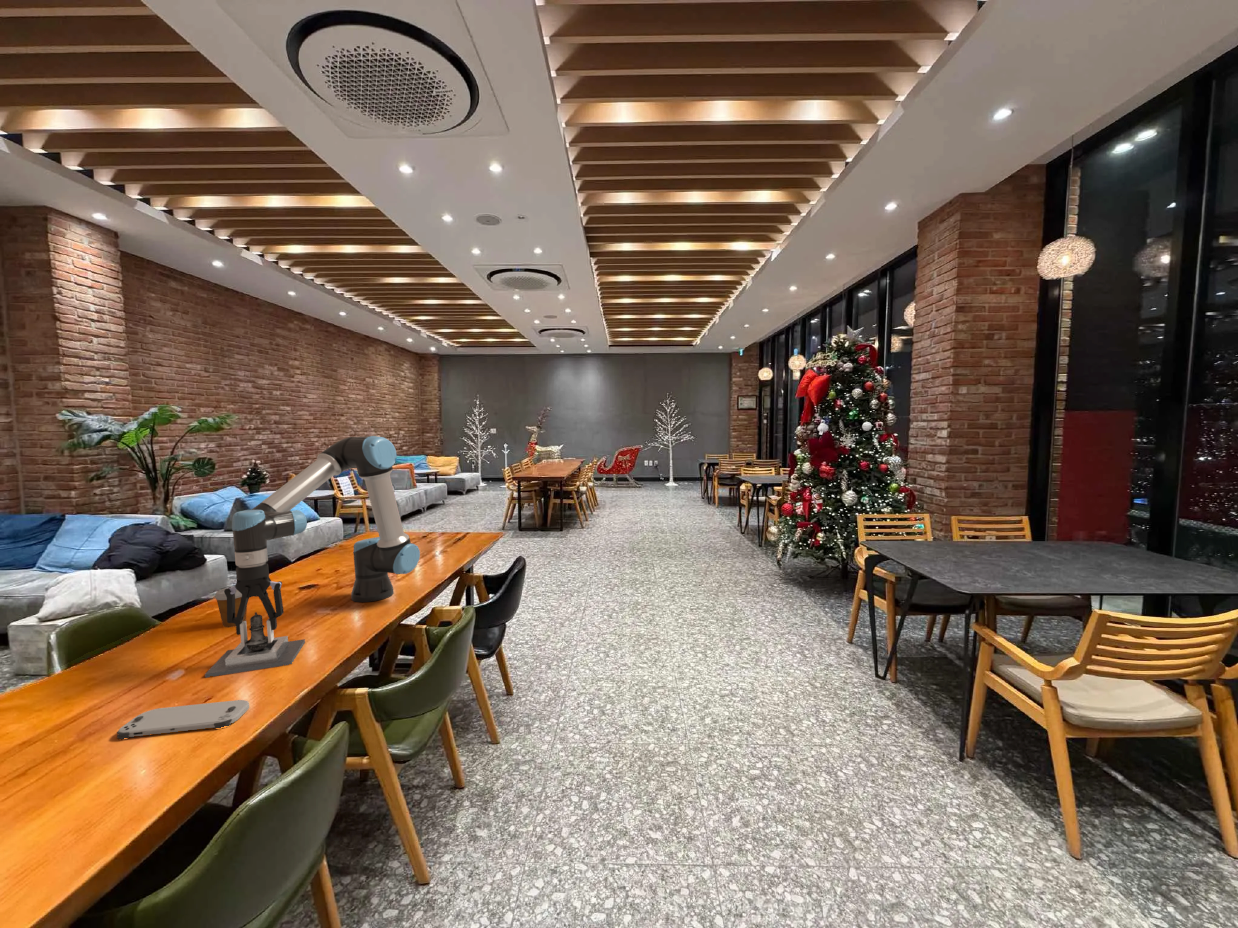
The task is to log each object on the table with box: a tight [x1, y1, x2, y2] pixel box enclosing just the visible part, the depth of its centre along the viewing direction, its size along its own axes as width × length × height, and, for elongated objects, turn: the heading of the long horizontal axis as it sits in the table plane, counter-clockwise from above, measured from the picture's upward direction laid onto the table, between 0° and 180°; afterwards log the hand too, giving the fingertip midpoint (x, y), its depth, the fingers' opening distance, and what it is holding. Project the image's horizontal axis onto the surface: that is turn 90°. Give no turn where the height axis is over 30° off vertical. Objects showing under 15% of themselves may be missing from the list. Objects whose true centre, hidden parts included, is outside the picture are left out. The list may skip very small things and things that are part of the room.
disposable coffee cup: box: [214, 587, 248, 628], centre depth 174 cm, size 10×10×12 cm
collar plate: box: [204, 635, 306, 679], centre depth 146 cm, size 20×16×4 cm
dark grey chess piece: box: [245, 611, 270, 653], centre depth 146 cm, size 6×6×12 cm
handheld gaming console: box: [116, 699, 250, 740], centre depth 115 cm, size 23×3×10 cm
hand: (257, 642), depth 146 cm, fingers closed on dark grey chess piece, 6 cm apart
